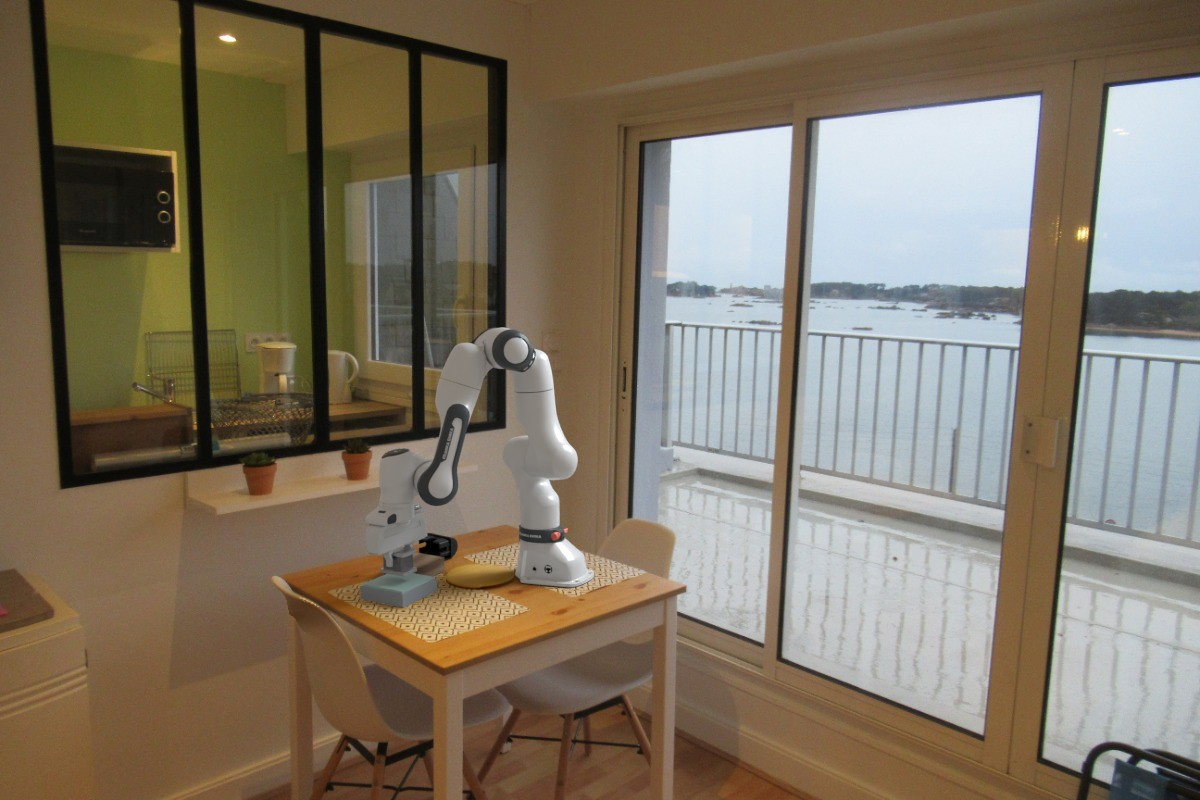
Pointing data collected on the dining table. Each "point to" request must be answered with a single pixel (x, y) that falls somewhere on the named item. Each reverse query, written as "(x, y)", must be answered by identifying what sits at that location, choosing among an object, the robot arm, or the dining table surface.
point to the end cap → (439, 546)
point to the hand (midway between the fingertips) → (398, 563)
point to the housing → (400, 562)
